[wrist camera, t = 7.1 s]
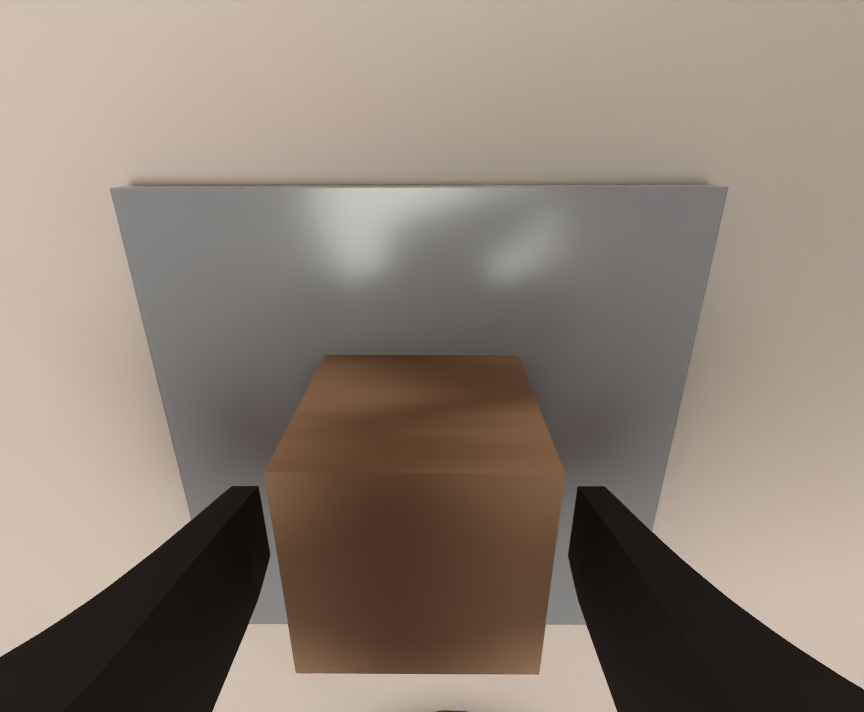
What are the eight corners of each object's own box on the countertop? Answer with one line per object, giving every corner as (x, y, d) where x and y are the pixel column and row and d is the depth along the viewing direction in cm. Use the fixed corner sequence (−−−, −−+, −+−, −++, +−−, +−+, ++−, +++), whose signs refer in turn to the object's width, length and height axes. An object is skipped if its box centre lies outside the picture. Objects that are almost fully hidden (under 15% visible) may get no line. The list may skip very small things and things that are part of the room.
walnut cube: (517, 355, 13) (565, 473, 8) (506, 509, 15) (538, 674, 10) (325, 354, 13) (264, 472, 8) (339, 508, 15) (295, 673, 10)
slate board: (710, 184, 12) (728, 186, 11) (622, 604, 17) (631, 624, 17) (130, 185, 12) (110, 188, 11) (226, 603, 17) (216, 623, 17)
